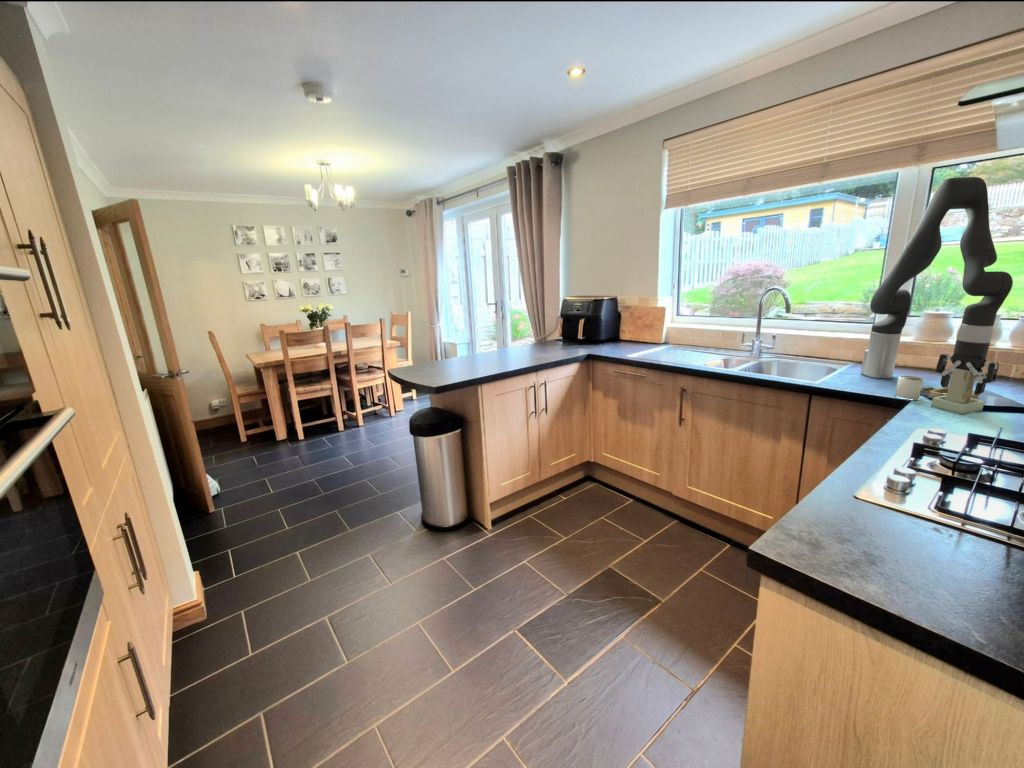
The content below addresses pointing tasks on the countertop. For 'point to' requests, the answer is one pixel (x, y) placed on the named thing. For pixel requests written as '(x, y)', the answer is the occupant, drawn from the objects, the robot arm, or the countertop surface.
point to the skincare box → (960, 386)
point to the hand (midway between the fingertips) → (960, 390)
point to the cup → (909, 387)
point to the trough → (957, 405)
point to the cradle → (940, 392)
